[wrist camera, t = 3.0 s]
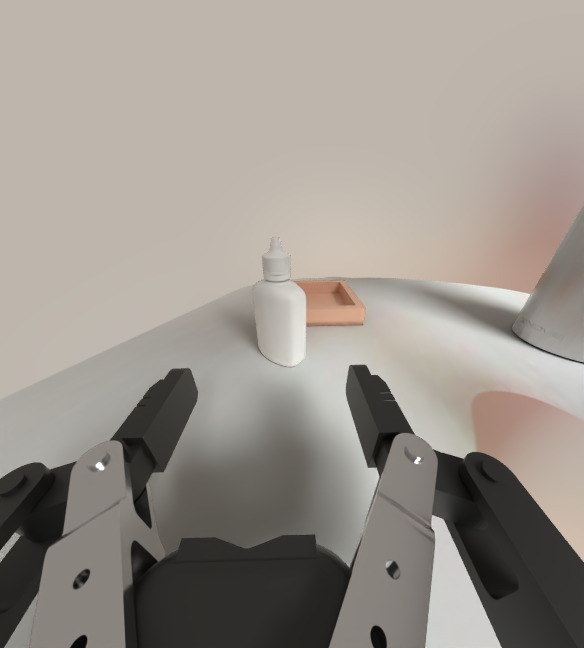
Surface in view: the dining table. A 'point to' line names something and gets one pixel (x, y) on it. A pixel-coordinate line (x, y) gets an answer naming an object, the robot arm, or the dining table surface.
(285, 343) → the eye dropper bottle
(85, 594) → the robot arm
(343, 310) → the terracotta caddy
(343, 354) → the dining table surface
